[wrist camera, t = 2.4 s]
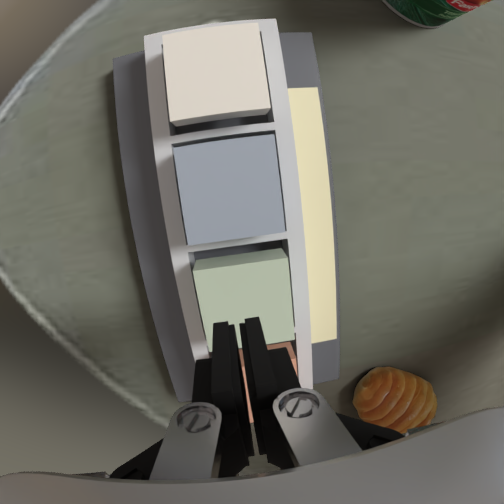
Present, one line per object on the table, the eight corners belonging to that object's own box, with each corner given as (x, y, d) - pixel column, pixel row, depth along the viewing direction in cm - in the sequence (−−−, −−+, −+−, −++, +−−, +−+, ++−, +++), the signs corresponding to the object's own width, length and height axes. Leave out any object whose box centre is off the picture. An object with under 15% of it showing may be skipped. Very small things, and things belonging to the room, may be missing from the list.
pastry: (329, 400, 24) (342, 430, 21) (386, 344, 23) (407, 369, 20) (386, 431, 27) (400, 455, 23) (434, 385, 26) (453, 407, 22)
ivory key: (254, 36, 13) (258, 22, 12) (265, 114, 15) (270, 108, 13) (168, 47, 13) (162, 35, 11) (176, 126, 14) (170, 121, 13)
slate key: (268, 137, 15) (274, 134, 13) (279, 225, 16) (285, 232, 14) (179, 150, 15) (173, 147, 13) (192, 237, 16) (188, 245, 14)
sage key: (281, 248, 16) (288, 257, 15) (288, 323, 18) (294, 339, 16) (196, 259, 16) (192, 271, 14) (210, 334, 17) (209, 351, 16)
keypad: (305, 40, 17) (320, 18, 13) (333, 367, 23) (348, 395, 20) (120, 65, 16) (100, 47, 13) (180, 389, 23) (175, 420, 19)
